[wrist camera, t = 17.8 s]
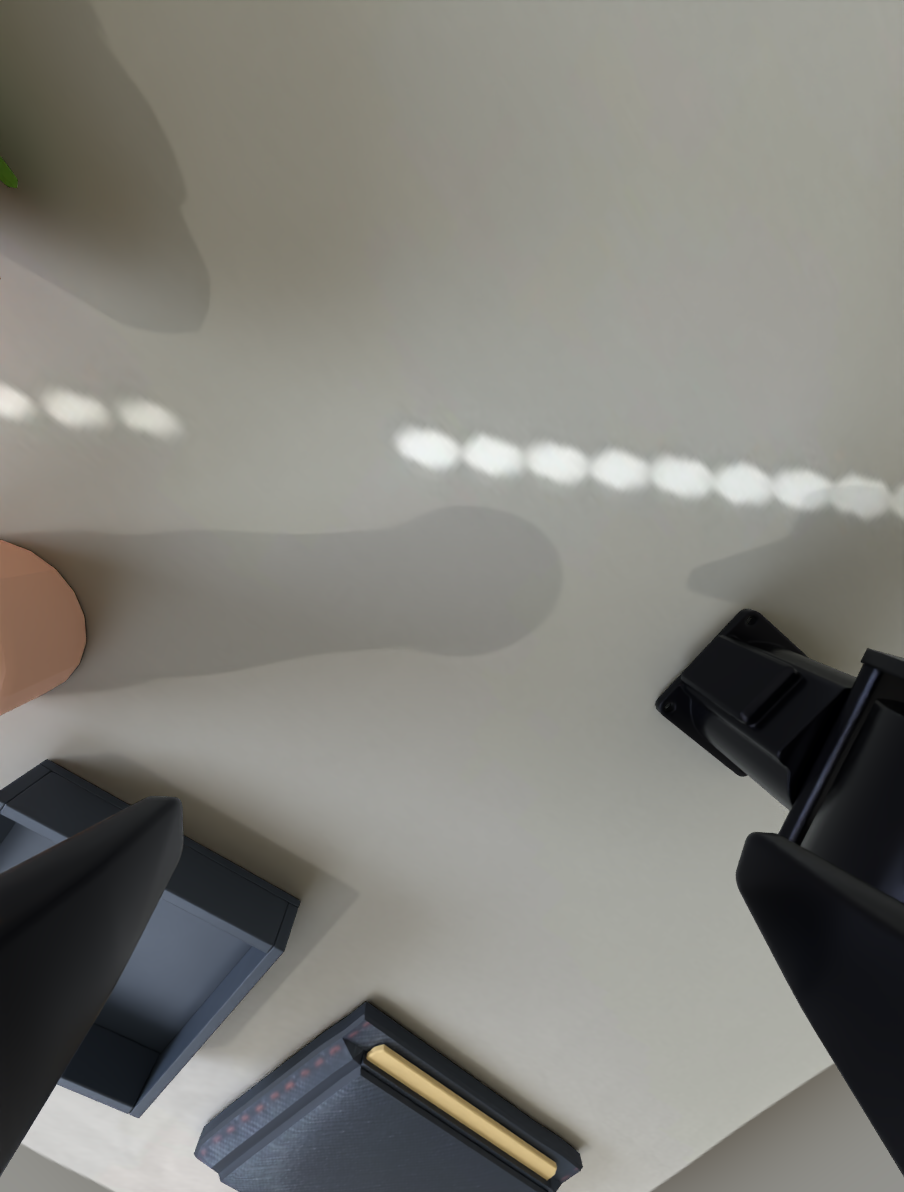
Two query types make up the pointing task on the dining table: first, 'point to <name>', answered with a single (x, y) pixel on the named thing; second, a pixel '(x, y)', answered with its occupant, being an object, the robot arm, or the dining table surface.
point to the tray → (154, 945)
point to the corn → (7, 175)
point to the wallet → (379, 1123)
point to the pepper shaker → (35, 627)
